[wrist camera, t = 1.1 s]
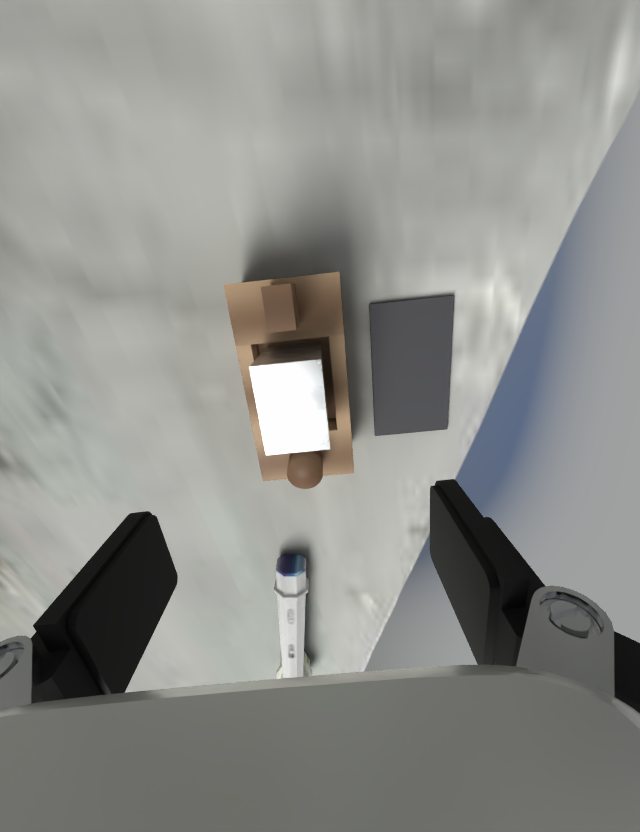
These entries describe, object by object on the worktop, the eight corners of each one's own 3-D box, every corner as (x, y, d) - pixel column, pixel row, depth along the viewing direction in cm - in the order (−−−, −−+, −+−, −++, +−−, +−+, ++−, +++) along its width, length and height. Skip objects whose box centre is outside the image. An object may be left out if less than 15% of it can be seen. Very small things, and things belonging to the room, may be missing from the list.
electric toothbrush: (311, 574, 39) (311, 726, 46) (312, 540, 46) (312, 676, 52) (268, 574, 39) (273, 725, 46) (275, 540, 46) (279, 676, 52)
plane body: (241, 284, 30) (206, 284, 21) (335, 274, 30) (342, 269, 21) (271, 451, 37) (255, 507, 28) (348, 444, 37) (358, 498, 28)
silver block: (266, 346, 30) (249, 366, 22) (320, 340, 29) (321, 359, 22) (278, 416, 32) (265, 455, 25) (327, 411, 32) (330, 449, 25)
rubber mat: (369, 304, 31) (369, 304, 31) (452, 295, 31) (454, 295, 30) (374, 434, 36) (375, 435, 36) (446, 427, 36) (447, 429, 36)
